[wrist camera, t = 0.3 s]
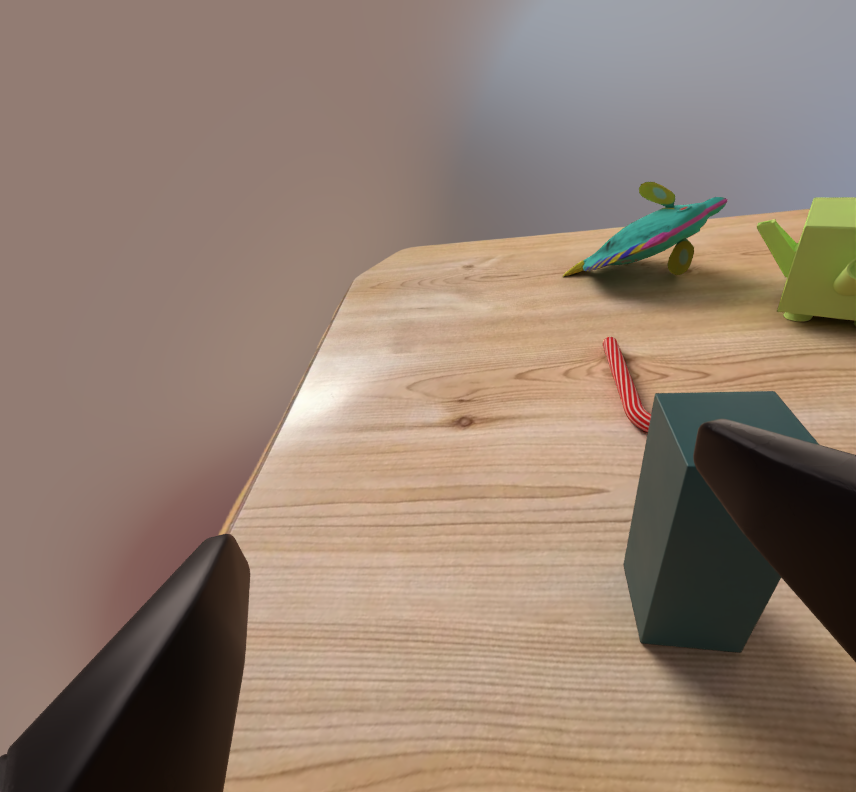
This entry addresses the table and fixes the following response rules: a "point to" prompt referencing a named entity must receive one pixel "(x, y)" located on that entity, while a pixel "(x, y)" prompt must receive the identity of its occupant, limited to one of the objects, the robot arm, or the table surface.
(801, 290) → the kettle
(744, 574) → the block
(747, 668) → the table surface
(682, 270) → the decorative fish
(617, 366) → the candy cane
